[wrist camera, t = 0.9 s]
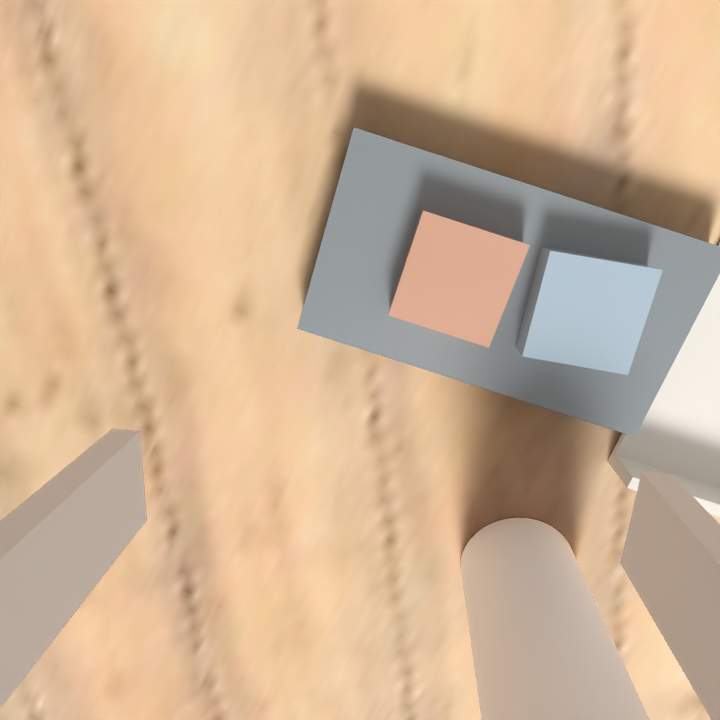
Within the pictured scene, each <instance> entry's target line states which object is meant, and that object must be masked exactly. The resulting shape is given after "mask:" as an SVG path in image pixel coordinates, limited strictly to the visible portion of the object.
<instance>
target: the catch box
mask: <svg viewBox="0 0 720 720" xmlns="http://www.w3.org/2000/svg"><path fill="white" fill-rule="evenodd" d="M718 246H720V242H719V244H718ZM608 462H609V464H610V465H611V466H612V468H613V469H614V471H615V472H616V473H617V475H618V476H619V477H620V479H621V480H622V481H623V483H624V484H625V486H626V487H627V488H629V489H632V490H635V491H637V489H638V485H639V481H640V477H641V472H648V473H660V474H672V475H673V476H674V477H675V478H676V479H677V480H678V481H679V482H680V483H681V484H682V485H683V486H684V487H685V488H686V489H687V490H688V492H689V493H690V494H691V495H692V496H693V497H694V498H695V499H696V500H697V501H698V502H699V503H700V504H701V505H702V506H703V507H704V508H705V510H706V511H707V512H708V513H709V514H711V515H714V516H717V517H720V274H719V276H718V278H717V280H716V282H715V284H714V286H713V288H712V290H711V291H710V293H709V295H708V297H707V299H706V301H705V303H704V305H703V307H702V309H701V311H700V313H699V315H698V316H697V318H696V320H695V322H694V324H693V326H692V328H691V330H690V332H689V334H688V336H687V338H686V340H685V341H684V343H683V345H682V347H681V349H680V351H679V353H678V355H677V357H676V359H675V361H674V363H673V365H672V366H671V368H670V370H669V372H668V374H667V376H666V378H665V380H664V382H663V384H662V386H661V388H660V389H659V391H658V393H657V395H656V397H655V399H654V401H653V403H652V405H651V407H650V409H649V411H648V413H647V414H646V416H645V418H644V420H643V422H642V424H641V426H640V428H639V430H638V432H637V434H636V436H635V437H634V436H631V435H627V434H624V433H622V434H621V436H620V438H619V440H618V442H617V444H616V446H615V448H614V450H613V452H612V454H611V456H610V458H609V460H608Z"/></svg>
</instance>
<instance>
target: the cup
mask: <svg viewBox="0 0 720 720" xmlns="http://www.w3.org/2000/svg"><path fill="white" fill-rule="evenodd" d="M461 575H462V582H463V589H464V597H465V604H466V611H467V618H468V626H469V633H470V640H471V647H472V654H473V662H474V669H475V676H476V683H477V691H478V698H479V705H480V712H481V719H482V720H649V718H648V716H647V714H646V711H645V709H644V707H643V705H642V703H641V700H640V698H639V696H638V694H637V692H636V689H635V687H634V685H633V683H632V681H631V678H630V676H629V674H628V672H627V670H626V667H625V665H624V663H623V661H622V659H621V656H620V654H619V652H618V650H617V648H616V645H615V643H614V641H613V639H612V637H611V634H610V632H609V630H608V628H607V626H606V623H605V621H604V619H603V617H602V615H601V612H600V610H599V608H598V606H597V604H596V602H595V599H594V597H593V595H592V593H591V591H590V588H589V586H588V584H587V582H586V580H585V577H584V575H583V573H582V571H581V569H580V566H579V564H578V562H577V560H576V558H575V555H574V553H573V551H572V549H571V547H570V545H569V543H568V541H567V540H566V539H565V537H564V536H563V535H562V534H561V533H560V532H559V531H557V530H556V529H555V528H553V527H552V526H550V525H548V524H546V523H544V522H541V521H538V520H534V519H529V518H508V519H503V520H499V521H496V522H493V523H491V524H489V525H487V526H485V527H483V528H482V529H481V530H479V531H478V532H477V533H476V534H475V535H474V536H473V537H472V538H471V539H470V540H469V542H468V543H467V545H466V546H465V549H464V551H463V554H462V557H461Z"/></svg>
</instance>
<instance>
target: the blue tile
mask: <svg viewBox="0 0 720 720" xmlns="http://www.w3.org/2000/svg"><path fill="white" fill-rule="evenodd" d="M662 271H663V270H662V269H659V268H655V267H652V266H649V265H645V264H639V263H633V262H627V261H621V260H615V259H610V258H604V257H598V256H592V255H586V254H580V253H574V252H569V251H563V250H557V249H551V248H545V247H541V251H540V255H539V259H538V263H537V266H536V270H535V274H534V278H533V282H532V286H531V290H530V293H529V297H528V301H527V305H526V309H525V313H524V317H523V320H522V324H521V328H520V332H519V336H518V340H517V344H516V348H517V349H518V351H519V352H520V354H521V355H522V356H523V357H529V358H534V359H540V360H546V361H551V362H557V363H562V364H568V365H574V366H579V367H585V368H591V369H596V370H602V371H608V372H613V373H619V374H625V375H628V373H629V370H630V367H631V364H632V361H633V358H634V355H635V352H636V349H637V346H638V343H639V340H640V337H641V334H642V331H643V328H644V325H645V322H646V319H647V316H648V313H649V310H650V307H651V304H652V301H653V298H654V295H655V292H656V289H657V286H658V283H659V280H660V277H661V274H662Z"/></svg>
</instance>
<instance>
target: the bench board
mask: <svg viewBox="0 0 720 720" xmlns="http://www.w3.org/2000/svg"><path fill="white" fill-rule="evenodd" d="M422 209H423V210H426V211H429V212H432V213H435V214H438V215H441V216H445V217H448V218H451V219H454V220H457V221H460V222H463V223H466V224H469V225H472V226H475V227H478V228H482V229H485V230H488V231H491V232H494V233H497V234H500V235H503V236H506V237H509V238H512V239H516V240H519V241H522V242H524V243H526V244H529V245H530V247H529V249H528V252H527V254H526V257H525V259H524V262H523V264H522V267H521V269H520V272H519V274H518V277H517V279H516V282H515V284H514V287H513V289H512V292H511V294H510V297H509V299H508V302H507V304H506V307H505V309H504V312H503V314H502V316H501V319H500V321H499V324H498V326H497V329H496V331H495V334H494V336H493V339H492V341H491V344H490V346H489V348H488V347H485V346H482V345H479V344H476V343H473V342H470V341H467V340H463V339H460V338H457V337H454V336H451V335H448V334H445V333H442V332H439V331H435V330H432V329H429V328H426V327H423V326H420V325H417V324H414V323H411V322H407V321H404V320H401V319H398V318H395V317H392V316H389V308H390V305H391V302H392V299H393V296H394V293H395V290H396V287H397V284H398V281H399V278H400V275H401V272H402V269H403V266H404V263H405V260H406V257H407V254H408V251H409V248H410V245H411V242H412V239H413V236H414V233H415V230H416V227H417V224H418V221H419V218H420V215H421V212H422ZM541 247H545V248H551V249H557V250H563V251H569V252H574V253H580V254H586V255H592V256H598V257H604V258H610V259H615V260H621V261H627V262H633V263H639V264H645V265H649V266H652V267H655V268H659V269H662V270H663V271H662V274H661V277H660V280H659V283H658V286H657V289H656V292H655V295H654V298H653V301H652V304H651V307H650V310H649V313H648V316H647V319H646V322H645V325H644V328H643V331H642V334H641V337H640V340H639V343H638V346H637V349H636V352H635V355H634V358H633V361H632V364H631V367H630V370H629V373H628V375H625V374H619V373H613V372H608V371H602V370H596V369H591V368H585V367H579V366H574V365H568V364H562V363H557V362H551V361H546V360H540V359H534V358H529V357H523V356H522V355H521V354H520V352H519V351H518V349H517V348H516V344H517V340H518V336H519V332H520V328H521V324H522V320H523V317H524V313H525V309H526V305H527V301H528V297H529V293H530V290H531V286H532V282H533V278H534V274H535V270H536V266H537V263H538V259H539V255H540V251H541ZM719 274H720V246H717V245H714V244H711V243H708V242H705V241H702V240H699V239H696V238H693V237H690V236H687V235H684V234H681V233H677V232H674V231H671V230H668V229H665V228H662V227H659V226H656V225H653V224H650V223H647V222H644V221H641V220H637V219H634V218H631V217H628V216H625V215H622V214H619V213H616V212H613V211H610V210H607V209H604V208H601V207H597V206H594V205H591V204H588V203H585V202H582V201H579V200H576V199H573V198H570V197H567V196H564V195H561V194H557V193H554V192H551V191H548V190H545V189H542V188H539V187H536V186H533V185H530V184H527V183H524V182H521V181H518V180H514V179H511V178H508V177H505V176H502V175H499V174H496V173H493V172H490V171H487V170H484V169H481V168H478V167H474V166H471V165H468V164H465V163H462V162H459V161H456V160H453V159H450V158H447V157H444V156H441V155H438V154H434V153H431V152H428V151H425V150H422V149H419V148H416V147H413V146H410V145H407V144H404V143H401V142H398V141H394V140H391V139H388V138H385V137H382V136H379V135H376V134H373V133H370V132H367V131H364V130H361V129H358V128H353V132H352V135H351V139H350V142H349V146H348V149H347V153H346V157H345V160H344V164H343V167H342V171H341V174H340V178H339V182H338V185H337V189H336V192H335V196H334V199H333V203H332V207H331V210H330V214H329V217H328V221H327V224H326V228H325V232H324V235H323V239H322V242H321V246H320V250H319V253H318V257H317V260H316V264H315V267H314V271H313V275H312V278H311V282H310V285H309V289H308V292H307V296H306V300H305V303H304V307H303V310H302V314H301V317H300V321H299V325H298V328H297V329H300V330H303V331H306V332H309V333H312V334H315V335H319V336H322V337H325V338H328V339H331V340H334V341H337V342H340V343H343V344H347V345H350V346H353V347H356V348H359V349H362V350H365V351H368V352H372V353H375V354H378V355H381V356H384V357H387V358H390V359H393V360H397V361H400V362H403V363H406V364H409V365H412V366H415V367H418V368H421V369H425V370H428V371H431V372H434V373H437V374H440V375H443V376H446V377H450V378H453V379H456V380H459V381H462V382H465V383H468V384H471V385H475V386H478V387H481V388H484V389H487V390H490V391H493V392H496V393H499V394H503V395H506V396H509V397H512V398H515V399H518V400H521V401H524V402H528V403H531V404H534V405H537V406H540V407H543V408H546V409H549V410H553V411H556V412H559V413H562V414H565V415H568V416H571V417H574V418H577V419H581V420H584V421H587V422H590V423H593V424H596V425H599V426H602V427H606V428H609V429H612V430H615V431H618V432H621V433H624V434H627V435H631V436H634V437H635V436H636V434H637V432H638V430H639V428H640V426H641V424H642V422H643V420H644V418H645V416H646V414H647V413H648V411H649V409H650V407H651V405H652V403H653V401H654V399H655V397H656V395H657V393H658V391H659V389H660V388H661V386H662V384H663V382H664V380H665V378H666V376H667V374H668V372H669V370H670V368H671V366H672V365H673V363H674V361H675V359H676V357H677V355H678V353H679V351H680V349H681V347H682V345H683V343H684V341H685V340H686V338H687V336H688V334H689V332H690V330H691V328H692V326H693V324H694V322H695V320H696V318H697V316H698V315H699V313H700V311H701V309H702V307H703V305H704V303H705V301H706V299H707V297H708V295H709V293H710V291H711V290H712V288H713V286H714V284H715V282H716V280H717V278H718V276H719Z"/></svg>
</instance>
